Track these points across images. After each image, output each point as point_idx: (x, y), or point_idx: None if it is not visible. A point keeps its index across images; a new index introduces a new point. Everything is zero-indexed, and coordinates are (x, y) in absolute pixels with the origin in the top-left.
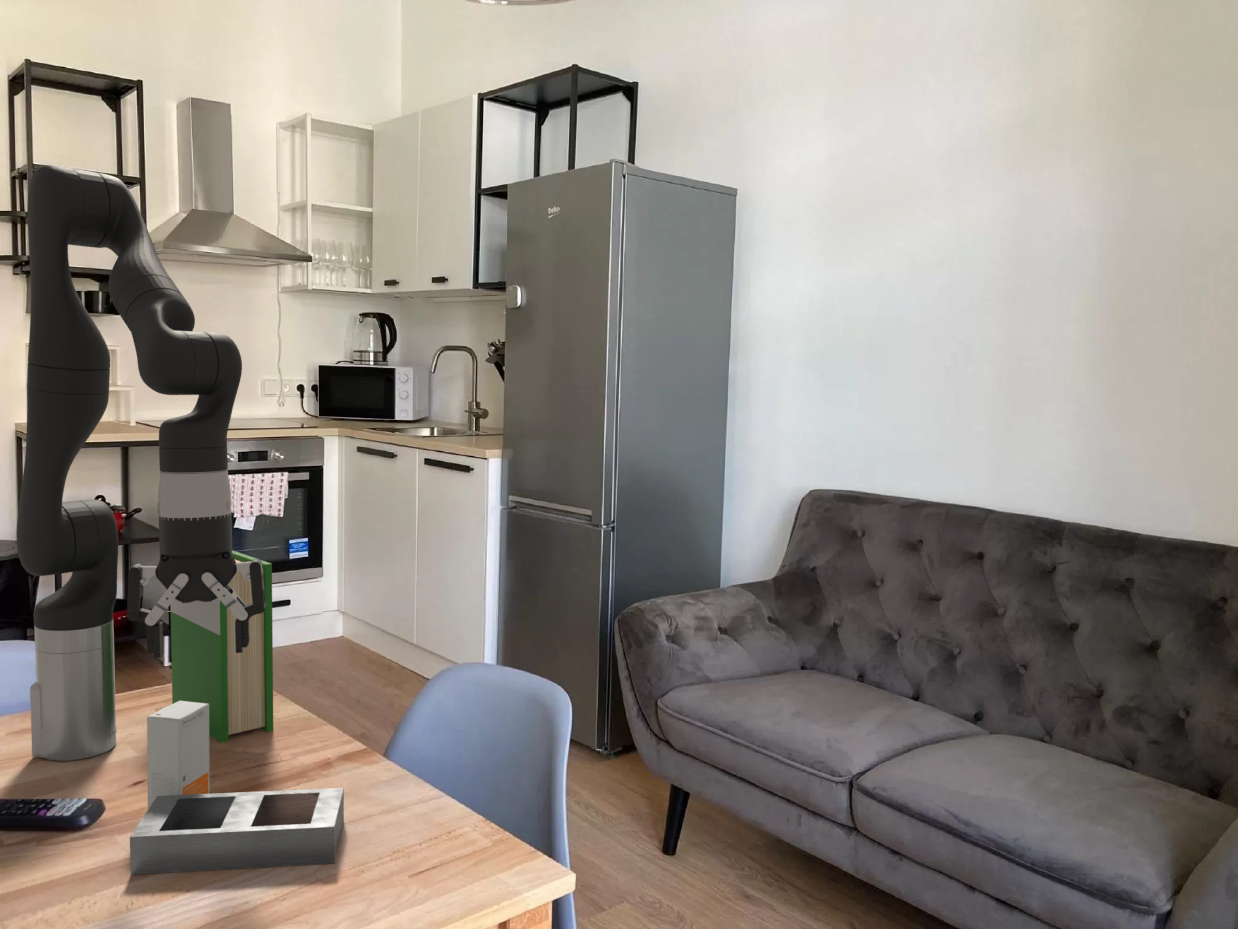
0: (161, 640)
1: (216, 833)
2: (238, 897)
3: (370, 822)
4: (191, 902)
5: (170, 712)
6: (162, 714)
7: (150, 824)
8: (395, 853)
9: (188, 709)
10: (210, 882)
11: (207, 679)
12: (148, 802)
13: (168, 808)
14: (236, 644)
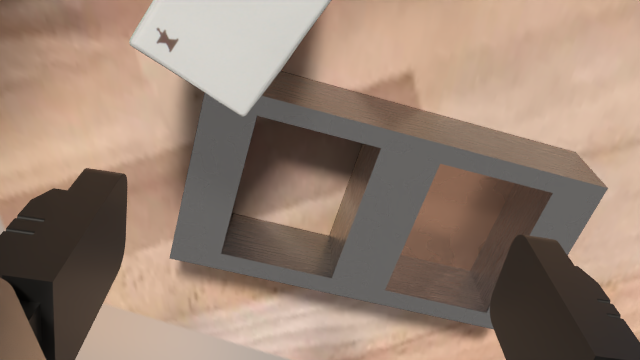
0: (96, 266)
1: (323, 291)
2: (343, 329)
3: (619, 171)
4: (278, 320)
5: (210, 33)
6: (182, 45)
7: (203, 221)
8: None
9: (276, 18)
10: None
11: None
12: None
13: (235, 159)
14: (504, 345)
